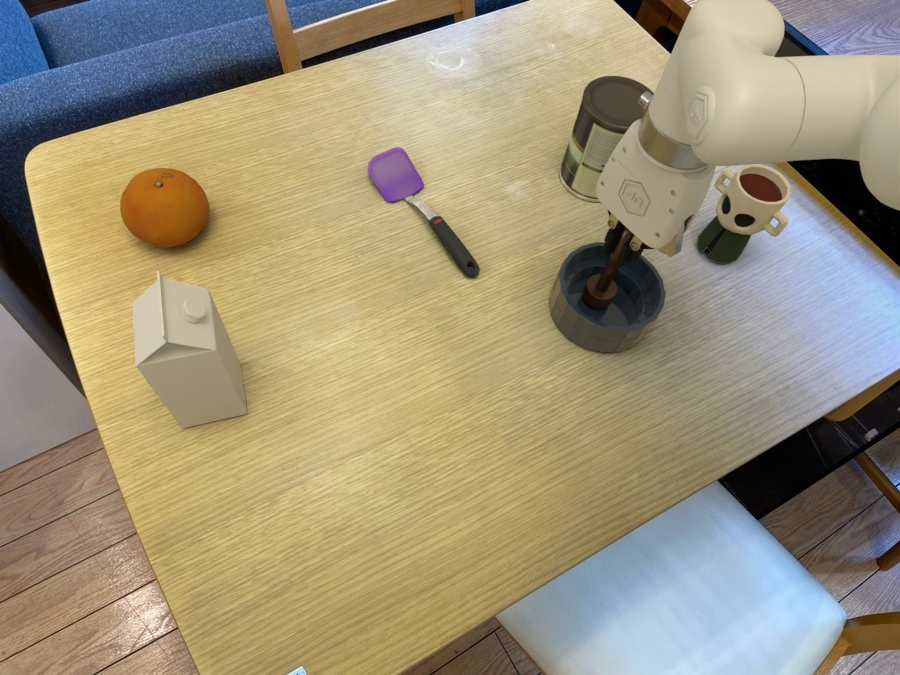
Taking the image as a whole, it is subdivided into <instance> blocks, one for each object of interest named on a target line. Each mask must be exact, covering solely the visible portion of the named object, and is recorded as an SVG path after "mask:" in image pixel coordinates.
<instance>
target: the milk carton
mask: <svg viewBox="0 0 900 675" xmlns="http://www.w3.org/2000/svg"><path fill="white" fill-rule="evenodd" d="M131 308H132V325H133V327H132V329H133V343H134V345H133V346H134V347H133V348H134V364H135V367H136V368H137V370H138V372H140V374H141V375H142V376H143V378H144V379H145V380H146V382H147V383H148V384H149V386H150V387H151V389H152V390H153V391H154V393H155V394H156V395H157V397H158V398H159V400H160V401H161V402H162V403H163V404H164V406H165V408H166V409H167V410H168V411H169V413H170V414H171V416H172V418H173V419H174V420H175V421H176V422H177V424H178V425H179V427H180V428H181V429H187V428H190V427H195V426H199V425H204V424H209V423H213V422H217V421H223V420H226V419H231V418H235V417H239V416H244V415H247V414H248V408H247V402H246V396H245V395H246V394H245V388H244V380H243V373H242V368H241V362H240V359H239V357H238V355H237V352H236V350H235V348H234V345H233V342H232V340H231V338H230V335H229V334H228V331H227V329H226V327H225V324H224V322H223V319H222V317H221V315H220V313H219V310H218V307H217V305H216V303H215V301H214V298H213V296H212V293H211V291H210V290H209V288H206V287H202V286H199V285H195V284H191V283H186V282H182V281H178V280H174V279H170V278H166V277H163V276H162V274H161V272H160V271H159V270H156V281H155V282H153V284H152V285H150V286H149V287H147V289H146V290H145V291H143V292H142V293H141V294H140V295H139V296H138V297H137V298H135V300H133V301H132V304H131Z"/></svg>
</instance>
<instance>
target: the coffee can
mask: <svg viewBox="0 0 900 675" xmlns="http://www.w3.org/2000/svg"><path fill="white" fill-rule="evenodd" d="M646 91H648V92H649V93H651V94H652V95H653V94H654V92H653V90H651V89H650V88H649V87H648V86H646V85H645V84H644V83H641V82H640V81H638V80H636V79H633V78H630V77H627V76H621V75H605V76H604V75H603V76H601V77H597V78H595V79H592V80H591V81H590V82H589V83H588V84H587V85H586V86H585V87H584V89H583V92H582V98H581V102H580V105H579V108H578V111H577V113H576V114H577V115H576V118H575V121H574V123H573V127H572V131H571V134H570V136H569V140H568V143H567V146H566V148H565V152H564V155H563V158H562V161H561V164H560V165H559V170H558V171H559V172H558V175H559V180H560V183H561V184H562V186H563V187H564V188H565V189H566V190H567V191H568V193H570V194H571V195H572V196H574V197H575V198H578V199H580V200H583V201H586V202H590V203H601V202H600V201H599V199H598V198H597V196H596V186H597V183H598V180H599V178H600V176H601V173H602V171H603V169H604V167H605V165H606V164H607V162H608V160H609V158H610V156H611V154H612V153H613V151H614V149H615V148H616V146H617V145H618V143H619V142H620V140H621V139H622V137H623V136H624V134H625V133H626V131H627V130H628V129H629V127H630V126H631V125H632V124H633V122H635V121H636V120H639V119H641V118H642V116H643V113H644V109H643V108H642V107H643V106H641V105H640V104H639V103H638V100H639V98H640V96H641V95H642V94H643V93H644V92H646Z"/></svg>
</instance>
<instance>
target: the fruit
mask: <svg viewBox="0 0 900 675" xmlns="http://www.w3.org/2000/svg"><path fill="white" fill-rule="evenodd" d="M119 212H120V217H121V220H122V222H123V224H124V226H125V227H126V229H127V230H128V231H129V232H130V233H131V235H133V236H134V237H135V238H137V239H138V240H140V241H142V242H144V243H146V244H149V245H151V246H155V247H159V248H171V247H177V246H181V245H185V244H186V243H188V242H190V241H192V240H194V238H195V237H196V236H197V235H199V233H200V232H201V231H202V230H203V228H204V227H205V225H206V222H207V220H208V217H209V214H210V203H209V200H208V197H207V195H206V192H205V191H204V189H203V187H202V186H201V184H200V183H199V182H198V181H197V180H196V179H195V178H193V177H192V176H190V174H189V175H188V174H187V173H186V172H184V171H181V170H178V169H174V168H167V167H157V168H155V167H154V168H150V169H146V170H144V171H141V172H139V173H137V174H134V176H133V177H132V178H131V179H130V181H129V182H128V184H127V185H126V187H125V188H124V190H123V191H122V194H121V197H120V201H119Z"/></svg>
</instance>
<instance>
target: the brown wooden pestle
mask: <svg viewBox="0 0 900 675" xmlns="http://www.w3.org/2000/svg"><path fill="white" fill-rule="evenodd" d="M633 237H634V234H633V233H632V232H631V231H630V230H629V229H628V228H627V227H626V226H625V227H624V229H623V231H622V233H621V235H620V237H619V239H618V241H617V243H616V245H615V247H614V249H613V251H612V253H611V255H610V257H609V259H608V261H607V263H606V265H605V267H604V269H603V271H602V273H601V274H595V275H593V276H591V277H590V278H589V279H588V280H587V283H586V285H585V287H584V289H583V297H584V299H585V301H586V302H587V303H588V304H589V305H591V306H593V307H596V308H604V307H607V306H609V305H610V304H611V303H612V301H613V299H614V297H615V295H616V293H617V285H616V283H615V281H614V280H613V279H614V277H615V275H616V273H617V271H618V269H619V268H617V267H616V266H615V261H616V259H617V257H618V255H619V254H620V252H621V250H622V248H623V246H624V244H625V243H627V242H629V241H630V240H631V239H632V238H633Z"/></svg>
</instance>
